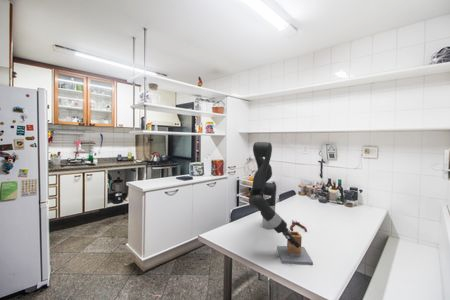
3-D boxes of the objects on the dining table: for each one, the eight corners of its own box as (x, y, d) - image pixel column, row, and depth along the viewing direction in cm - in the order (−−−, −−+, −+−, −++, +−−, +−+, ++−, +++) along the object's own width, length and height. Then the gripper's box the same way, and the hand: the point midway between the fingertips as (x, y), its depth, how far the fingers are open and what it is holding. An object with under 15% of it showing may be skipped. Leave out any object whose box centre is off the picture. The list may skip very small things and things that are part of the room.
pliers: (301, 221, 172) (301, 218, 172) (307, 232, 152) (307, 229, 152) (286, 221, 173) (286, 217, 173) (290, 231, 153) (291, 228, 153)
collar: (287, 247, 124) (287, 231, 123) (297, 248, 123) (298, 231, 123) (289, 253, 118) (290, 236, 117) (300, 254, 117) (301, 236, 117)
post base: (276, 247, 129) (277, 234, 129) (303, 249, 128) (304, 235, 128) (282, 263, 113) (282, 247, 113) (312, 265, 112) (313, 249, 112)
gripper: (284, 223, 113) (306, 245, 113) (279, 213, 127) (298, 233, 127) (273, 232, 113) (295, 255, 113) (269, 221, 128) (289, 241, 128)
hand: (297, 243), depth 120 cm, fingers closed on collar, 6 cm apart
